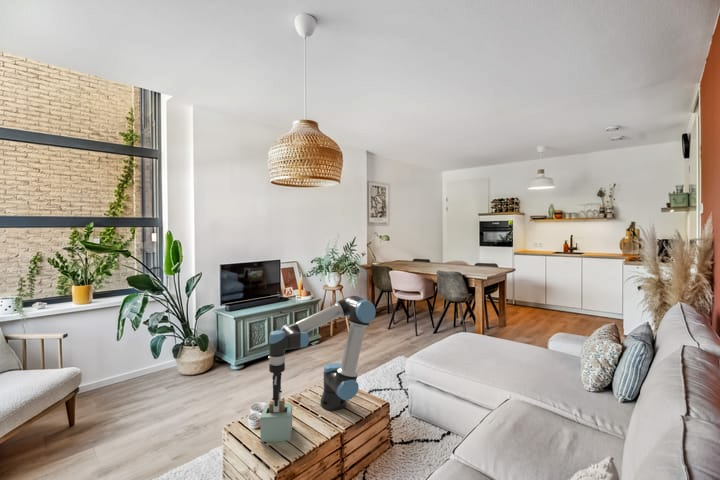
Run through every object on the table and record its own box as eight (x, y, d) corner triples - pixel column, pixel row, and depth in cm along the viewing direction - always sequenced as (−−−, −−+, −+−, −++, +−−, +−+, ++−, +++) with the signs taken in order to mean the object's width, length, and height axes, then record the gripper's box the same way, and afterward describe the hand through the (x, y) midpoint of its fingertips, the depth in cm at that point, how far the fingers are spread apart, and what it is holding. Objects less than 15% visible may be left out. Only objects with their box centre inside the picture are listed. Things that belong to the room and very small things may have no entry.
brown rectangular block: (284, 417, 175) (284, 400, 174) (283, 421, 172) (283, 404, 171) (270, 418, 174) (270, 401, 174) (269, 421, 171) (269, 404, 171)
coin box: (292, 425, 180) (292, 403, 179) (290, 440, 168) (290, 416, 168) (264, 427, 178) (264, 404, 178) (260, 441, 167) (260, 417, 166)
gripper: (271, 356, 180) (271, 400, 181) (266, 370, 163) (266, 419, 164) (286, 355, 181) (286, 399, 182) (282, 369, 163) (282, 418, 164)
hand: (277, 408), depth 173 cm, fingers open, 4 cm apart
